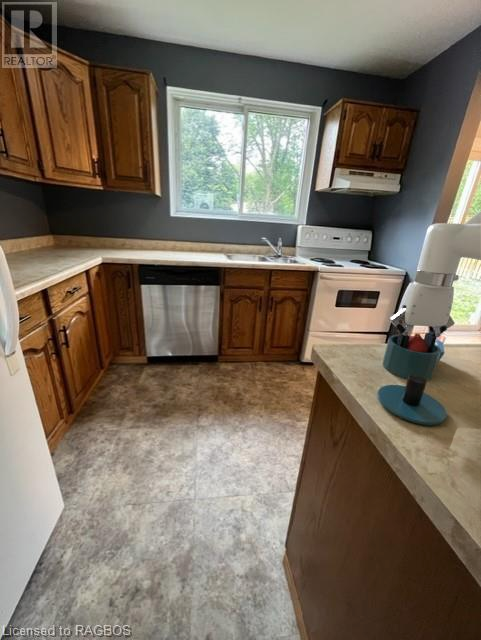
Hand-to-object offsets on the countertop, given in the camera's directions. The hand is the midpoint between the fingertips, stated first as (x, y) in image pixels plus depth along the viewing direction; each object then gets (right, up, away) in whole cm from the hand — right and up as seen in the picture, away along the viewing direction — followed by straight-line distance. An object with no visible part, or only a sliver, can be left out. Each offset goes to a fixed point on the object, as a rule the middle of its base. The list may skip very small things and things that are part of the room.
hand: (414, 348), depth 69 cm
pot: (-1, -6, +2) cm, 6 cm away
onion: (0, -4, +1) cm, 4 cm away
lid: (-9, -10, -13) cm, 19 cm away
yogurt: (+7, -5, +6) cm, 11 cm away
